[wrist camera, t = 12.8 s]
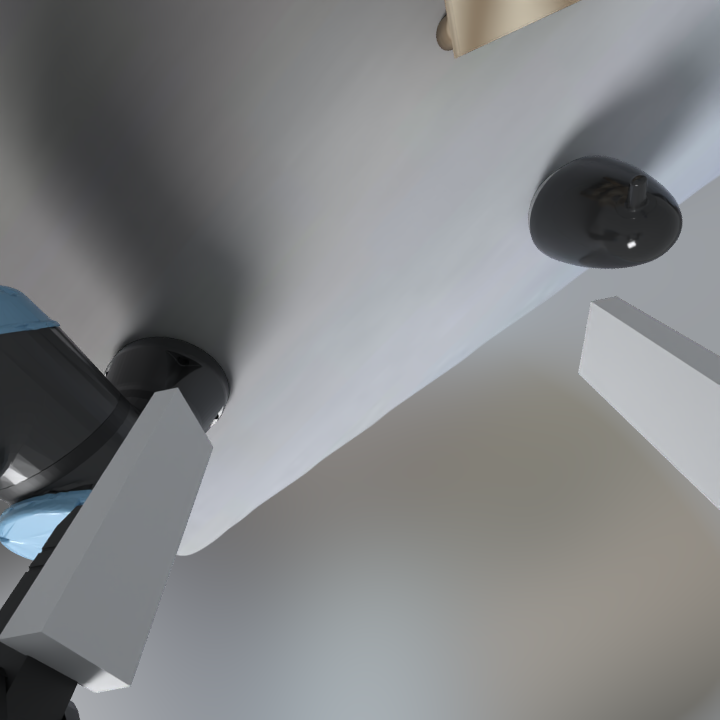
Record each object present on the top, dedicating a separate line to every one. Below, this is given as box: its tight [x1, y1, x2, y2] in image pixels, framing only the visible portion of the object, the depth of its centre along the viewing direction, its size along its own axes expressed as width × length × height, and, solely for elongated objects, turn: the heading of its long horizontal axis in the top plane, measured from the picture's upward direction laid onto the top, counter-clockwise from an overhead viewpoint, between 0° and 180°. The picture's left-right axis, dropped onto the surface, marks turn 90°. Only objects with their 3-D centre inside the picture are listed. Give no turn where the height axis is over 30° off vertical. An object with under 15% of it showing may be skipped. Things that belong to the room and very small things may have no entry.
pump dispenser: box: [528, 156, 682, 269], centre depth 35 cm, size 10×10×15 cm
